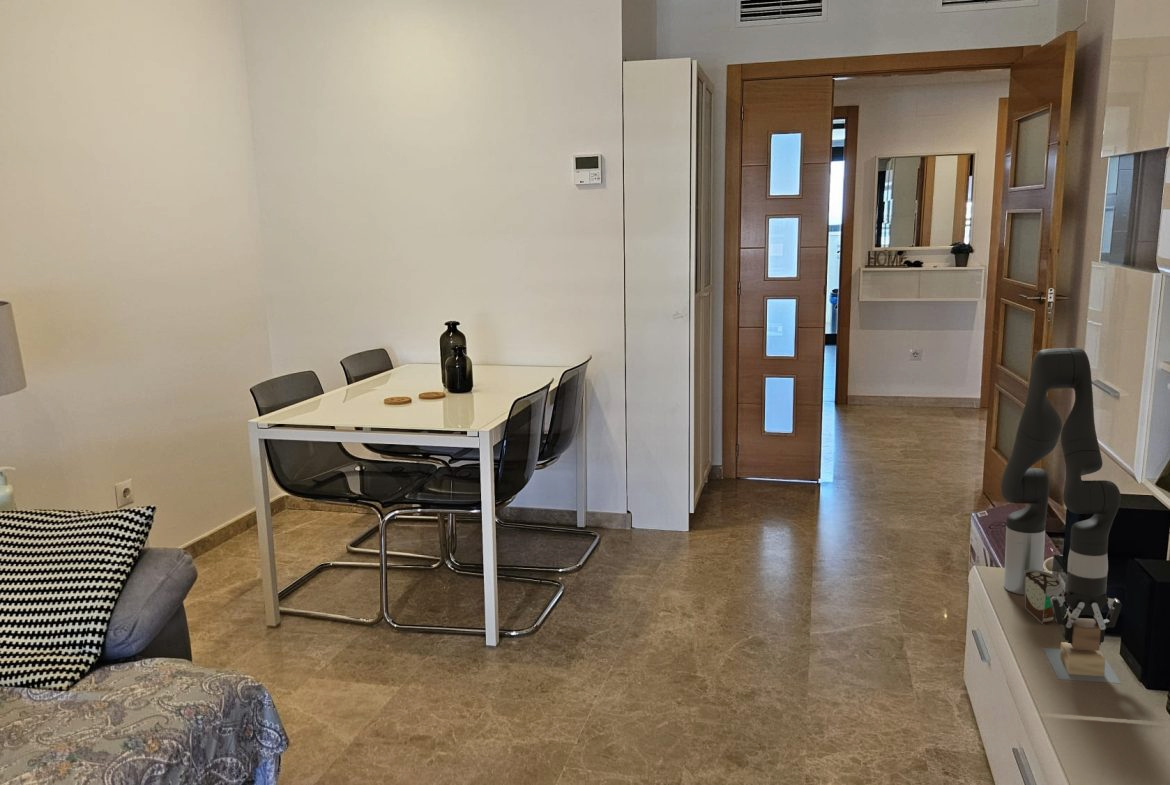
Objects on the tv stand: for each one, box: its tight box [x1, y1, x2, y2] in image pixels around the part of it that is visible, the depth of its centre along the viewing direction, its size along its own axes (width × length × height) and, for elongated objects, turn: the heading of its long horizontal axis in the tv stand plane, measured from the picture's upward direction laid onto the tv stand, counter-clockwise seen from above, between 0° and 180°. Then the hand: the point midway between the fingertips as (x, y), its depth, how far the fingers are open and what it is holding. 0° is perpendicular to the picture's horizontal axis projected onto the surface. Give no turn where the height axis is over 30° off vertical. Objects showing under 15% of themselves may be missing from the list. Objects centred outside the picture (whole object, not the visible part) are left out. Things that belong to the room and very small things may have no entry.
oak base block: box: [1060, 641, 1106, 676], centre depth 196 cm, size 7×7×4 cm
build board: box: [1042, 647, 1122, 684], centre depth 198 cm, size 14×12×1 cm
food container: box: [1024, 570, 1064, 625], centre depth 222 cm, size 12×6×10 cm, turn 179°
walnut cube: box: [1070, 617, 1101, 651], centre depth 195 cm, size 5×5×5 cm
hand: (1083, 642), depth 196 cm, fingers closed on walnut cube, 5 cm apart
